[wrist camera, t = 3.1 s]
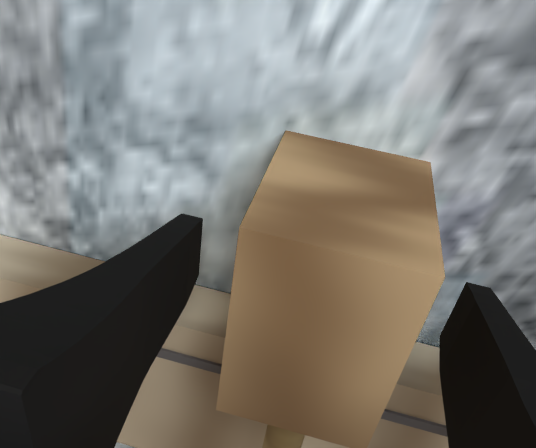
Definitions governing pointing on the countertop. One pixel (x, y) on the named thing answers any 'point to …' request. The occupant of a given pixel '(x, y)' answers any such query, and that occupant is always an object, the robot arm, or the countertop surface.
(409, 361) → the maple board
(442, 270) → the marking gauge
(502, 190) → the countertop surface
